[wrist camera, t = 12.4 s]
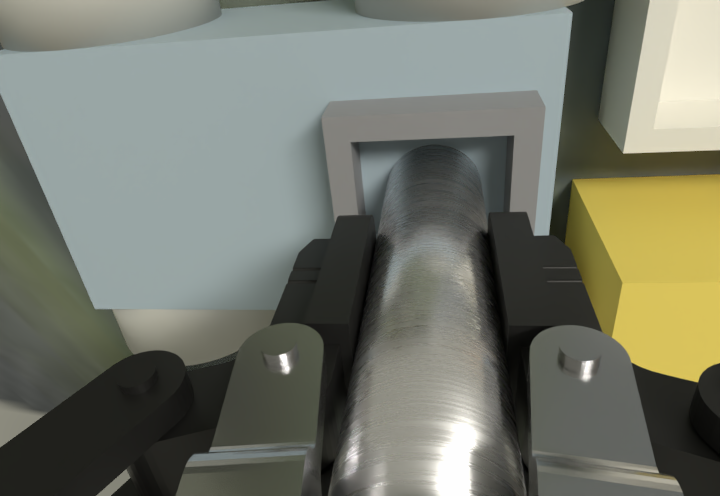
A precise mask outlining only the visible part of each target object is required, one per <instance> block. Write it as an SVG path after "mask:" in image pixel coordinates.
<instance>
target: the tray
mask: <svg viewBox="0 0 720 496" xmlns="http://www.w3.org/2000/svg"><path fill="white" fill-rule="evenodd" d="M598 120H599V121H600V123H601V124H602V125H603V127H604V128H605V130H606V131H607V132H608V134H609V135H610V136H611V138H612V139H613V140H614V142H615V143H616V144H617V146H618V147H619V149H620V150H621V151H622V153H623V154H624V153H652V152H679V151H707V150H720V0H615V5H614V11H613V18H612V25H611V32H610V39H609V46H608V53H607V60H606V67H605V74H604V81H603V88H602V95H601V102H600V109H599V116H598Z"/></svg>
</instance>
